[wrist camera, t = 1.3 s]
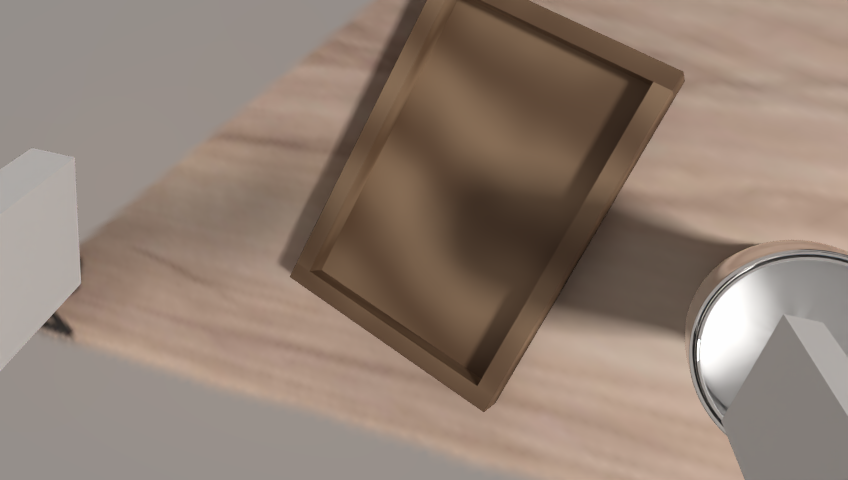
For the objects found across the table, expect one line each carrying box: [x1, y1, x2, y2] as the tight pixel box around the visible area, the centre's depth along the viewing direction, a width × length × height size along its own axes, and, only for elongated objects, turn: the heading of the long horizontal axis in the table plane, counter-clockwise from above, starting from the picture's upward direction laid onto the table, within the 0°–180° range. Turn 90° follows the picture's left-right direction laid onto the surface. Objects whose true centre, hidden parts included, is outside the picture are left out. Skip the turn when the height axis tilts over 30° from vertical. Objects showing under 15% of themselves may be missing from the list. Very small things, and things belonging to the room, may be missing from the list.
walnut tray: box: [290, 0, 685, 412], centre depth 39 cm, size 20×14×2 cm
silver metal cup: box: [685, 240, 848, 435], centre depth 27 cm, size 7×7×15 cm
